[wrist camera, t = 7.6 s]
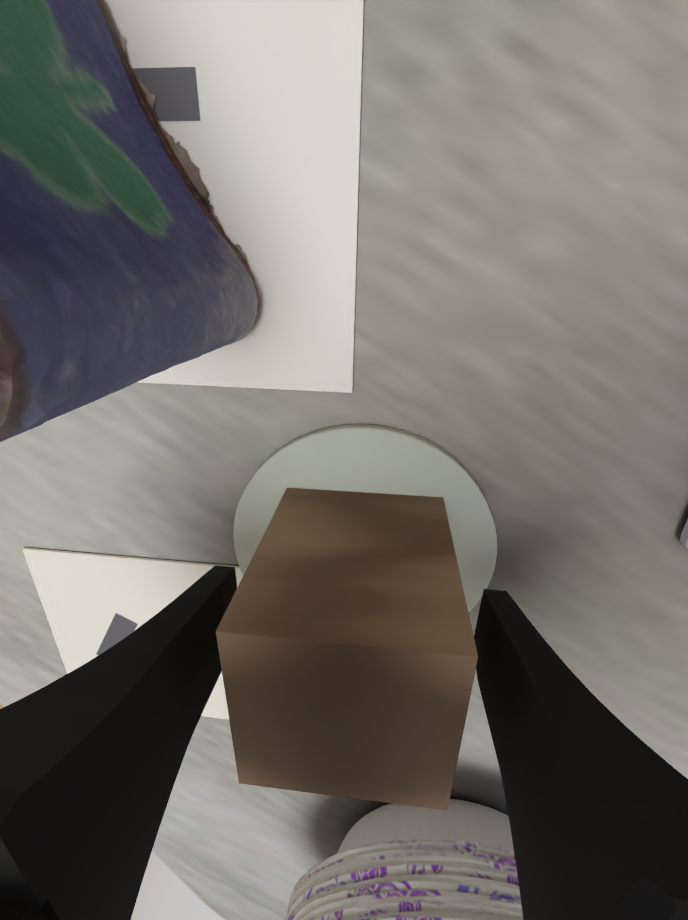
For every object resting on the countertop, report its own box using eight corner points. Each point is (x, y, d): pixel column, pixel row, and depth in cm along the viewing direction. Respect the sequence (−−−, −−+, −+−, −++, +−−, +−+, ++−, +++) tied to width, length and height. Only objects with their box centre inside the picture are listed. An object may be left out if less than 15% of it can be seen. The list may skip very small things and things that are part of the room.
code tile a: (368, -162, 8) (368, -169, 8) (352, 391, 13) (352, 392, 13) (-137, -126, 9) (-143, -131, 9) (17, 375, 14) (13, 376, 14)
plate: (516, 432, 13) (521, 439, 12) (472, 648, 16) (475, 661, 16) (227, 416, 13) (220, 422, 13) (248, 625, 17) (243, 637, 17)
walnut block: (443, 497, 13) (477, 656, 8) (428, 617, 15) (447, 810, 10) (286, 487, 14) (215, 631, 8) (293, 605, 16) (239, 783, 10)
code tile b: (242, 566, 16) (241, 569, 16) (257, 721, 20) (257, 723, 20) (24, 547, 17) (21, 549, 17) (78, 698, 20) (76, 701, 20)
